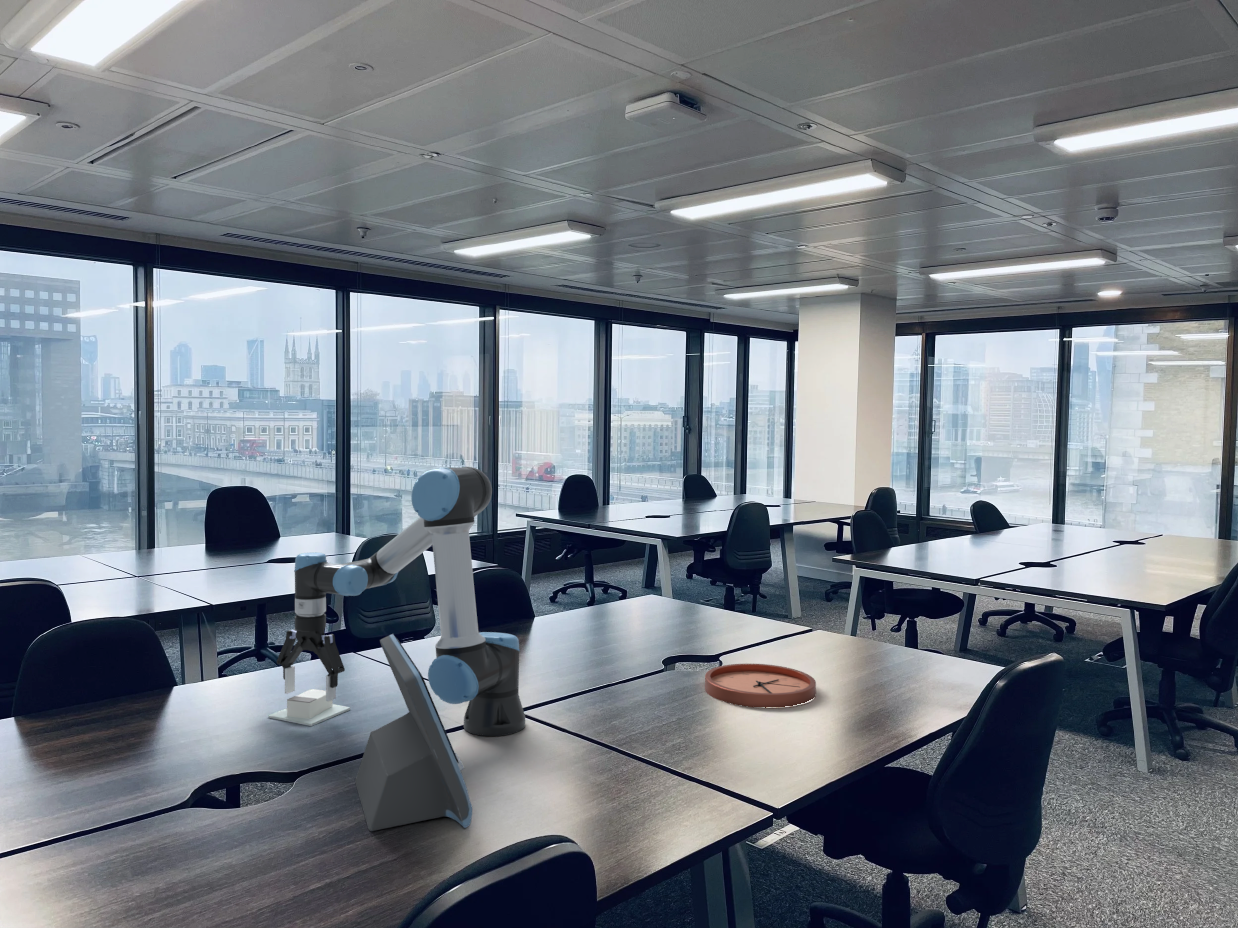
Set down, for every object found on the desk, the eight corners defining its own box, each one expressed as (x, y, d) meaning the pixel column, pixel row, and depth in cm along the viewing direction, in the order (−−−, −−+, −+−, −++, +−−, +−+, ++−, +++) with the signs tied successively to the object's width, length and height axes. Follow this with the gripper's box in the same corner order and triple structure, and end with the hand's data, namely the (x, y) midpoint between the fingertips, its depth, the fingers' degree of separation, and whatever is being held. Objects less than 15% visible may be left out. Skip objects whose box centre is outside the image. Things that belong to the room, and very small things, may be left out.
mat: (350, 709, 225) (350, 707, 225) (311, 725, 212) (311, 723, 212) (308, 701, 230) (308, 699, 230) (268, 717, 217) (268, 715, 217)
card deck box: (310, 703, 227) (310, 688, 226) (332, 706, 225) (332, 690, 225) (286, 715, 217) (287, 699, 217) (309, 718, 215) (309, 701, 215)
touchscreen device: (481, 826, 160) (478, 667, 158) (373, 848, 152) (367, 681, 151) (443, 759, 192) (440, 626, 191) (352, 774, 184) (347, 636, 183)
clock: (717, 659, 267) (821, 669, 257) (717, 671, 267) (820, 683, 257) (693, 686, 238) (809, 700, 227) (693, 701, 238) (808, 715, 228)
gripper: (262, 611, 222) (262, 693, 222) (338, 621, 212) (338, 707, 212) (284, 606, 228) (284, 685, 229) (359, 615, 218) (358, 698, 219)
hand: (310, 696), depth 221 cm, fingers open, 13 cm apart
